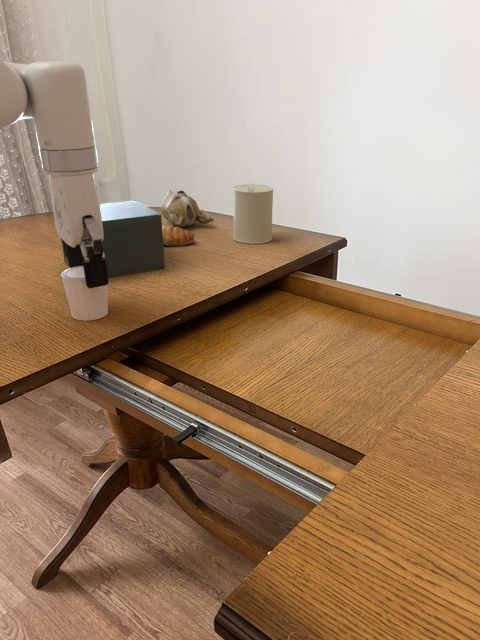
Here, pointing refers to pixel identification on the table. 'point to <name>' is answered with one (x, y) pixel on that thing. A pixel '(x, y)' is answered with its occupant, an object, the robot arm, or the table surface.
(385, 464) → the table surface
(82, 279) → the white cup
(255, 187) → the can
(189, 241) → the pastry
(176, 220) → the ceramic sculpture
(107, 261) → the box
